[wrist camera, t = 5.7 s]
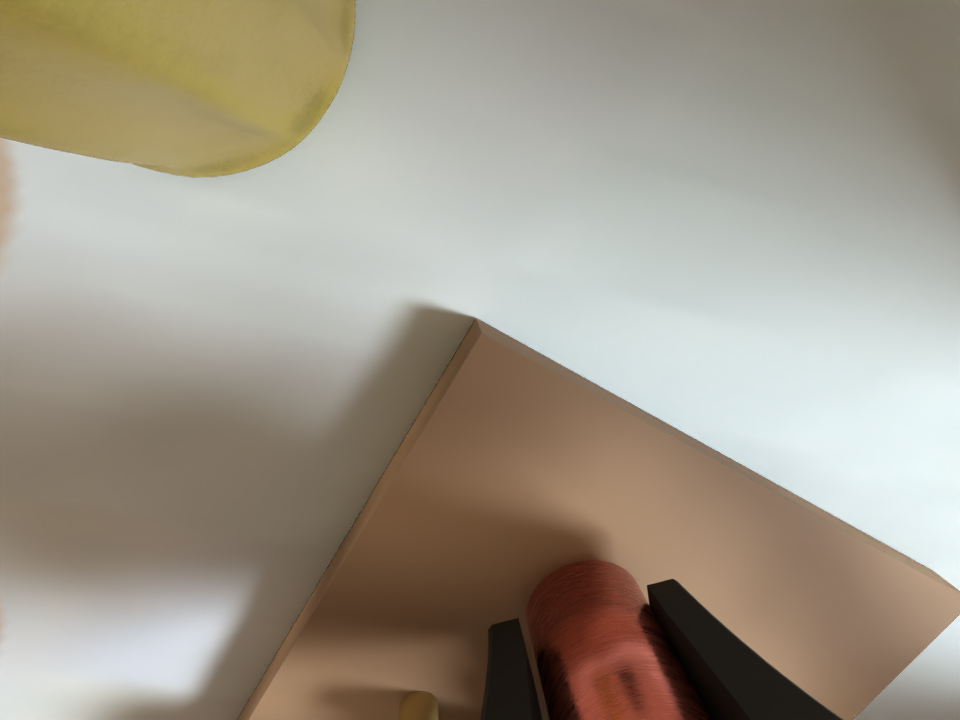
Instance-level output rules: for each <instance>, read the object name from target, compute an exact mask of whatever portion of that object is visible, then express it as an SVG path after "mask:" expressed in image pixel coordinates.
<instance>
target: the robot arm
mask: <svg viewBox="0 0 960 720" xmlns="http://www.w3.org/2000/svg"><path fill="white" fill-rule="evenodd" d="M647 591H648V599H649V606H650V608H651V610H652V611H653V613H654V615H655V617H656V619H657V621H658V623H659V624H660V626H661V628H662V630H663V632H664V634H665V636H666V638H667V639H668V641H669V643H670V645H671V647H672V649H673V650H674V652H675V654H676V656H677V658H678V660H679V662H680V663H681V665H682V667H683V669H684V671H685V673H686V675H687V676H688V678H689V680H690V682H691V684H692V686H693V688H694V689H695V691H696V693H697V695H698V697H699V699H700V701H701V703H702V704H703V706H704V708H705V710H706V712H707V714H708V716H709V717H710V719H711V720H843V719H842V718H840V717H839V716H837V715H836V714H834V713H833V712H832V711H830V710H829V709H828V708H826V707H825V706H823V705H822V704H821V703H819V702H818V701H817V700H815V699H814V698H813V697H811V696H810V695H809V694H807V693H806V692H805V691H803V690H802V689H801V688H800V687H798V686H797V685H796V684H794V683H793V682H792V681H790V680H789V679H788V678H787V677H785V676H784V675H783V674H782V673H780V672H779V671H778V670H777V669H775V668H774V667H773V666H772V665H770V664H769V663H768V662H767V661H765V660H764V659H763V658H762V657H761V656H759V655H758V654H757V653H756V652H755V651H754V650H752V649H751V648H750V647H749V646H748V645H746V644H745V643H744V642H743V641H742V640H740V639H739V638H738V637H737V636H736V635H735V634H734V633H732V632H731V631H730V630H729V629H728V628H727V627H726V626H724V625H723V624H722V623H721V622H720V621H719V620H718V619H717V618H716V617H715V616H713V615H712V614H711V613H710V612H709V611H708V610H707V609H706V608H705V607H704V606H703V605H702V604H701V603H699V602H698V601H697V600H696V599H695V598H694V597H693V596H692V595H691V594H690V593H689V592H688V591H687V590H686V589H685V588H684V587H683V586H682V585H681V584H680V583H679V582H678V581H676V580H674V579H669V580H665V581H662V582H658V583H654V584H650V585H647ZM480 720H543V718H542V713H541V709H540V704H539V700H538V695H537V691H536V687H535V682H534V678H533V674H532V670H531V666H530V662H529V658H528V654H527V650H526V646H525V642H524V638H523V634H522V630H521V626H520V622H519V618H516V619H512V620H508V621H504V622H501V623H497V624H493V625H491V627H490V628H489V629H488V663H487V674H486V683H485V692H484V698H483V705H482V712H481V718H480Z"/></svg>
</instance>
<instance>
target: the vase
mask: <svg viewBox="0 0 960 720" xmlns="http://www.w3.org/2000/svg"><path fill="white" fill-rule="evenodd" d="M354 24H355V0H0V138H5V139H9V140H14V141H18V142H22V143H26V144H31V145H35V146H40V147H44V148H49V149H54V150H59V151H64V152H68V153H74V154H79V155H84V156H89V157H94V158H99V159H104V160H110V161H117V162H125V163H132V164H135V165H138V166H140V167H144V168H148V169H152V170H155V171H159V172H164V173H170V174H174V175H180V176H187V177H193V178H194V177H217V176H224V175H231V174H234V173H238V172H242V171H246V170H249V169H252V168H255V167H258V166H260V165H263V164H266V163H268V162H270V161H272V160H274V159H276V158H278V157H280V156H282V155H283V154H285V153H286V152H288V151H289V150H291V149H292V148H294V147H295V146H296V145H298V144H299V143H300V142H301V141H302V140H303V139H304V138H305V137H306V136H307V135H308V134H309V133H310V132H311V130H312V129H313V128H314V127H315V126H316V125H317V124H318V122H319V121H320V119H321V118H322V116H323V115H324V113H325V112H326V110H327V109H328V107H329V106H330V104H331V102H332V100H333V99H334V97H335V95H336V93H337V91H338V89H339V87H340V84H341V82H342V80H343V77H344V74H345V71H346V68H347V65H348V62H349V57H350V53H351V49H352V43H353V37H354Z"/></svg>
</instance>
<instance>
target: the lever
mask: <svg viewBox="0 0 960 720" xmlns="http://www.w3.org/2000/svg"><path fill="white" fill-rule="evenodd" d="M526 621H527V626H528V630H529V634H530V638H531V643H532V647H533V651H534V656H535V660H536V664H537V668H538V673H539V677H540V681H541V686H542V690H543V694H544V698H545V703H546V707H547V711H548V715H549V720H711V719H710V717H709V716H708V714H707V712H706V710H705V708H704V706H703V704H702V703H701V701H700V699H699V697H698V695H697V693H696V691H695V689H694V688H693V686H692V684H691V682H690V680H689V678H688V676H687V675H686V673H685V671H684V669H683V667H682V665H681V663H680V662H679V660H678V658H677V656H676V654H675V652H674V650H673V649H672V647H671V645H670V643H669V641H668V639H667V638H666V636H665V634H664V632H663V630H662V628H661V626H660V624H659V623H658V621H657V619H656V617H655V615H654V613H653V611H652V610H651V608H650V606H649V604H648V602H647V600H646V598H645V596H644V594H643V593H642V591H641V589H640V587H639V585H638V583H637V582H636V580H635V578H634V577H633V576H632V575H631V574H630V573H629V572H628V571H627V570H625V569H624V568H622V567H621V566H618V565H616V564H614V563H610V562H606V561H600V560H588V561H580V562H575V563H572V564H569V565H566V566H564V567H561V568H559V569H558V570H556V571H554V572H553V573H551V574H550V575H548V576H547V577H546V578H545V579H543V580H542V581H541V582H540V583H539V585H538V586H537V587H536V588H535V590H534V591H533V593H532V595H531V596H530V598H529V601H528V604H527V609H526Z"/></svg>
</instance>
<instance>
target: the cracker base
mask: <svg viewBox="0 0 960 720" xmlns="http://www.w3.org/2000/svg"><path fill="white" fill-rule="evenodd" d="M588 560H600V561H606V562H610V563H614V564H616V565H618V566H621V567H622V568H624V569H625V570H627V571H628V572H629V573H630V574H631V575H632V576H633V577H634V578H635V580H636V582H637V583H638V585H639V587H640V589H641V591H642V593H643V594H644V596H645V598H646V600H647V602H648V604H649V599H648V591H647V585H650V584H654V583H658V582H662V581H665V580H669V579H674V580H676V581H678V582H679V583H680V584H681V585H682V586H683V587H684V588H685V589H686V590H687V591H688V592H689V593H690V594H691V595H692V596H693V597H694V598H695V599H696V600H697V601H698V602H699V603H701V604H702V605H703V606H704V607H705V608H706V609H707V610H708V611H709V612H710V613H711V614H712V615H713V616H715V617H716V618H717V619H718V620H719V621H720V622H721V623H722V624H723V625H724V626H726V627H727V628H728V629H729V630H730V631H731V632H732V633H734V634H735V635H736V636H737V637H738V638H739V639H740V640H742V641H743V642H744V643H745V644H746V645H748V646H749V647H750V648H751V649H752V650H754V651H755V652H756V653H757V654H758V655H759V656H761V657H762V658H763V659H764V660H765V661H767V662H768V663H769V664H770V665H772V666H773V667H774V668H775V669H777V670H778V671H779V672H780V673H782V674H783V675H784V676H785V677H787V678H788V679H789V680H790V681H792V682H793V683H794V684H796V685H797V686H798V687H800V688H801V689H802V690H803V691H805V692H806V693H807V694H809V695H810V696H811V697H813V698H814V699H815V700H817V701H818V702H819V703H821V704H822V705H823V706H825V707H826V708H828V709H829V710H830V711H832V712H833V713H834V714H836V715H837V716H839V717H840V718H842V719H843V720H853V719H854V718H855V717H856V716H857V715H858V714H859V713H860V712H861V711H862V710H863V709H864V708H865V707H866V706H867V705H868V704H869V703H870V702H871V701H872V700H873V699H874V698H875V697H876V696H877V695H878V694H879V693H880V692H881V691H882V690H883V689H884V688H885V687H886V686H887V685H888V684H889V683H890V682H891V681H892V680H893V679H895V678H896V677H897V676H898V675H899V674H900V673H901V672H902V671H903V670H904V669H905V668H906V667H907V666H908V665H909V664H910V663H911V662H912V661H913V660H914V659H915V658H916V657H917V656H918V655H919V654H920V653H921V652H922V651H923V650H924V649H925V648H926V647H927V646H928V645H929V644H930V643H931V642H932V641H933V640H934V639H935V638H936V637H937V636H938V635H939V634H940V633H941V632H942V631H943V630H944V629H945V628H947V627H948V626H949V625H950V624H951V623H952V622H953V621H954V620H955V619H956V618H957V617H958V616H959V615H960V591H959V590H958V589H956V588H955V587H954V586H952V585H951V584H950V583H948V582H947V581H946V580H944V579H943V578H942V577H940V576H939V575H938V574H936V573H935V572H934V571H932V570H931V569H929V568H927V567H925V566H923V565H922V564H920V563H918V562H916V561H914V560H913V559H911V558H909V557H907V556H905V555H904V554H902V553H900V552H898V551H896V550H894V549H893V548H891V547H889V546H887V545H885V544H884V543H882V542H880V541H878V540H876V539H875V538H873V537H871V536H869V535H867V534H866V533H864V532H862V531H860V530H858V529H857V528H855V527H853V526H851V525H849V524H847V523H846V522H844V521H842V520H840V519H838V518H837V517H835V516H833V515H831V514H829V513H828V512H826V511H824V510H822V509H820V508H819V507H817V506H815V505H813V504H811V503H810V502H808V501H806V500H804V499H802V498H800V497H799V496H797V495H795V494H793V493H791V492H790V491H788V490H786V489H784V488H782V487H781V486H779V485H777V484H775V483H773V482H772V481H770V480H768V479H766V478H764V477H763V476H761V475H759V474H757V473H755V472H753V471H752V470H750V469H748V468H746V467H744V466H743V465H741V464H739V463H737V462H735V461H734V460H732V459H730V458H728V457H726V456H725V455H723V454H721V453H719V452H717V451H716V450H714V449H712V448H710V447H708V446H706V445H705V444H703V443H701V442H699V441H697V440H696V439H694V438H692V437H690V436H688V435H687V434H685V433H683V432H681V431H679V430H678V429H676V428H674V427H672V426H670V425H669V424H667V423H665V422H663V421H661V420H659V419H658V418H656V417H654V416H652V415H650V414H649V413H647V412H645V411H643V410H641V409H640V408H638V407H636V406H634V405H632V404H631V403H629V402H627V401H625V400H623V399H622V398H620V397H618V396H616V395H614V394H612V393H611V392H609V391H607V390H605V389H603V388H602V387H600V386H598V385H596V384H594V383H593V382H591V381H589V380H587V379H585V378H584V377H582V376H580V375H578V374H576V373H575V372H573V371H571V370H569V369H567V368H565V367H564V366H562V365H560V364H558V363H556V362H555V361H553V360H551V359H549V358H547V357H546V356H544V355H542V354H540V353H538V352H537V351H535V350H533V349H531V348H529V347H527V346H526V345H524V344H522V343H520V342H518V341H517V340H515V339H513V338H511V337H509V336H508V335H506V334H504V333H502V332H500V331H499V330H497V329H495V328H493V327H491V326H490V325H488V324H486V323H484V322H482V321H480V320H479V319H477V318H476V319H475V321H474V322H473V324H472V326H471V327H470V329H469V331H468V333H467V334H466V336H465V338H464V339H463V341H462V343H461V344H460V346H459V348H458V349H457V351H456V353H455V354H454V356H453V358H452V359H451V361H450V363H449V364H448V366H447V368H446V370H445V371H444V373H443V375H442V376H441V378H440V380H439V381H438V383H437V385H436V386H435V388H434V390H433V391H432V393H431V395H430V396H429V398H428V400H427V401H426V403H425V405H424V406H423V408H422V410H421V412H420V413H419V415H418V417H417V418H416V420H415V422H414V423H413V425H412V427H411V428H410V430H409V432H408V433H407V435H406V437H405V438H404V440H403V442H402V443H401V445H400V447H399V449H398V450H397V452H396V454H395V455H394V457H393V459H392V460H391V462H390V464H389V465H388V467H387V469H386V470H385V472H384V474H383V475H382V477H381V479H380V480H379V482H378V484H377V486H376V487H375V489H374V491H373V492H372V494H371V496H370V497H369V499H368V501H367V502H366V504H365V506H364V507H363V509H362V511H361V512H360V514H359V516H358V517H357V519H356V521H355V522H354V524H353V526H352V528H351V529H350V531H349V533H348V534H347V536H346V538H345V539H344V541H343V543H342V544H341V546H340V548H339V549H338V551H337V553H336V554H335V556H334V558H333V559H332V561H331V563H330V565H329V566H328V568H327V570H326V571H325V573H324V575H323V576H322V578H321V580H320V581H319V583H318V585H317V586H316V588H315V590H314V591H313V593H312V595H311V596H310V598H309V600H308V602H307V603H306V605H305V607H304V608H303V610H302V612H301V613H300V615H299V617H298V618H297V620H296V622H295V623H294V625H293V627H292V628H291V630H290V632H289V633H288V635H287V637H286V638H285V640H284V642H283V644H282V645H281V647H280V649H279V650H278V652H277V654H276V655H275V657H274V659H273V660H272V662H271V664H270V665H269V667H268V669H267V670H266V672H265V674H264V675H263V677H262V679H261V681H260V682H259V684H258V686H257V687H256V689H255V691H254V692H253V694H252V696H251V697H250V699H249V701H248V702H247V704H246V706H245V707H244V709H243V711H242V712H241V714H240V716H239V718H238V719H237V720H480V718H481V712H482V705H483V698H484V692H485V683H486V674H487V663H488V629H489V628H490V627H491V625H493V624H497V623H501V622H504V621H508V620H512V619H516V618H519V622H520V626H521V630H522V634H523V638H524V642H525V646H526V650H527V654H528V658H529V662H530V666H531V670H532V674H533V678H534V682H535V687H536V691H537V695H538V700H539V704H540V709H541V713H542V718H543V720H549V715H548V711H547V707H546V703H545V698H544V694H543V690H542V686H541V681H540V677H539V673H538V668H537V664H536V660H535V656H534V651H533V647H532V643H531V638H530V634H529V630H528V626H527V621H526V609H527V604H528V601H529V598H530V596H531V595H532V593H533V591H534V590H535V588H536V587H537V586H538V585H539V583H540V582H541V581H542V580H543V579H545V578H546V577H547V576H548V575H550V574H551V573H553V572H554V571H556V570H558V569H559V568H561V567H564V566H566V565H569V564H572V563H575V562H580V561H588Z"/></svg>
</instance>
